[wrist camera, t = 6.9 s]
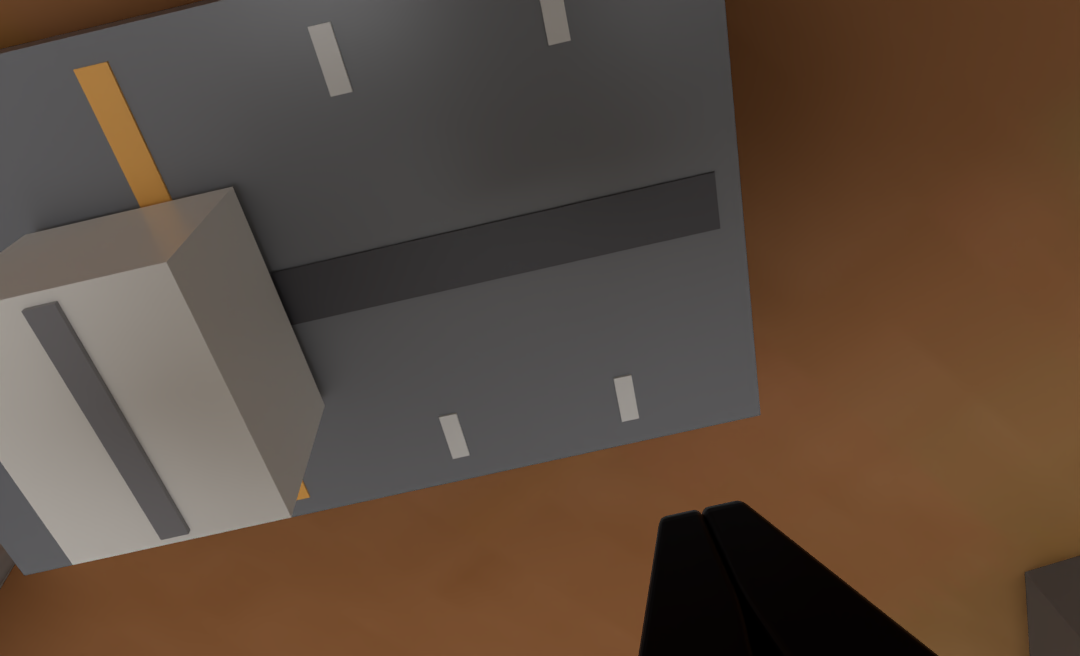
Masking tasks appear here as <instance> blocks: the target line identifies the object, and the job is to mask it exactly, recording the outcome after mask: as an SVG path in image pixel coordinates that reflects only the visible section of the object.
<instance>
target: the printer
mask: <svg viewBox="0 0 1080 656" xmlns="http://www.w3.org/2000/svg"><path fill="white" fill-rule="evenodd" d="M14 565H15V562H14V561H13V560H12V558H11V557H10V556H9V554H8V553H7V552H6V550H5V549H4V548H3V546H2V545H1V544H0V588H1V587H2V585H3V583H4V582H5V580H6V578H7V577H8V575H9V573H10V572H11V570H12V568H13V566H14Z"/></svg>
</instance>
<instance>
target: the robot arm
mask: <svg viewBox="0 0 1080 656" xmlns="http://www.w3.org/2000/svg"><path fill="white" fill-rule="evenodd" d="M639 656H938V655H937V654H936V653H934V652H933V651H932V650H930V649H929V648H928V647H927V646H925V645H924V644H923V643H922V642H920V641H919V640H918V639H917V638H915V637H914V636H913V635H911V634H910V633H909V632H908V631H906V630H905V629H904V628H903V627H901V626H900V625H899V624H898V623H896V622H895V621H894V620H893V619H891V618H890V617H889V616H887V615H886V614H885V613H884V612H882V611H881V610H880V609H879V608H877V607H876V606H875V605H874V604H872V603H871V602H870V601H868V600H867V599H866V598H865V597H863V596H862V595H861V594H860V593H858V592H857V591H856V590H855V589H853V588H852V587H851V586H850V585H848V584H847V583H846V582H844V581H843V580H842V579H841V578H839V577H838V576H837V575H836V574H834V573H833V572H832V571H831V570H829V569H828V568H827V567H825V566H824V565H823V564H822V563H820V562H819V561H818V560H817V559H815V558H814V557H813V556H812V555H810V554H809V553H808V552H806V551H805V550H804V549H803V548H801V547H800V546H799V545H798V544H796V543H795V542H794V541H793V540H791V539H790V538H789V537H788V536H786V535H785V534H784V533H782V532H781V531H780V530H779V529H777V528H776V527H775V526H774V525H772V524H771V523H770V522H769V521H767V520H766V519H765V518H763V517H762V516H761V515H760V514H758V513H757V512H756V511H755V510H753V509H752V508H751V507H750V506H748V505H747V504H746V503H744V502H741V501H733V502H728V503H724V504H719V505H715V506H710V507H707V508H705V509H704V510H703V512H702V514H701V513H700V512H699V511H696V510H692V511H687V512H682V513H678V514H673V515H669V516H665V517H663V518H662V519H661V521H660V523H659V527H658V534H657V540H656V546H655V553H654V559H653V566H652V572H651V579H650V585H649V591H648V598H647V604H646V611H645V617H644V623H643V630H642V636H641V643H640V649H639Z"/></svg>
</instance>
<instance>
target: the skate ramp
mask: <svg viewBox="0 0 1080 656" xmlns="http://www.w3.org/2000/svg"><path fill="white" fill-rule="evenodd" d="M1025 582H1026V599H1027V616H1028V633H1029V650H1030V656H1080V556H1077V557H1074V558H1070V559H1067V560H1064V561H1060V562H1057V563H1054V564H1050V565H1047V566H1044V567H1040V568H1037V569H1034V570H1031V571H1027V572H1025Z"/></svg>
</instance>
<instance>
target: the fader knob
mask: <svg viewBox="0 0 1080 656" xmlns="http://www.w3.org/2000/svg"><path fill="white" fill-rule="evenodd" d="M324 406H325V405H324V402H323V400H322V397H321V395H320V393H319V390H318V388H317V386H316V383H315V381H314V378H313V376H312V374H311V371H310V369H309V367H308V364H307V362H306V360H305V357H304V355H303V352H302V350H301V348H300V345H299V343H298V341H297V338H296V336H295V333H294V331H293V329H292V326H291V324H290V322H289V319H288V317H287V314H286V312H285V310H284V307H283V305H282V303H281V300H280V298H279V295H278V293H277V291H276V288H275V286H274V284H273V281H272V279H271V276H270V274H269V272H268V269H267V267H266V265H265V262H264V260H263V257H262V255H261V253H260V250H259V248H258V246H257V243H256V241H255V239H254V236H253V234H252V231H251V229H250V227H249V224H248V222H247V220H246V217H245V215H244V212H243V210H242V208H241V205H240V203H239V201H238V198H237V196H236V193H235V191H234V189H233V187H228V188H224V189H220V190H215V191H211V192H207V193H203V194H198V195H194V196H190V197H185V198H181V199H177V200H172V201H168V202H164V203H159V204H155V205H151V206H147V207H142V208H138V209H134V210H129V211H125V212H121V213H116V214H112V215H108V216H103V217H99V218H95V219H91V220H86V221H82V222H78V223H73V224H69V225H65V226H60V227H56V228H52V229H47V230H43V231H39V232H35V233H30V234H26V235H24V236H23V237H21V238H20V239H18V240H17V241H16V242H14V243H13V244H11V245H10V246H9V247H7V248H6V249H5V250H3V251H2V252H0V462H1V463H2V465H3V466H4V468H5V469H6V470H7V472H8V473H9V475H10V476H11V477H12V479H13V480H14V482H15V483H16V485H17V486H18V487H19V489H20V490H21V492H22V493H23V495H24V496H25V497H26V499H27V500H28V502H29V503H30V505H31V506H32V507H33V509H34V510H35V512H36V513H37V515H38V516H39V517H40V519H41V520H42V522H43V523H44V524H45V526H46V527H47V529H48V530H49V532H50V533H51V534H52V536H53V537H54V539H55V540H56V542H57V543H58V544H59V546H60V547H61V549H62V550H63V552H64V553H65V554H66V556H67V557H68V559H69V560H70V562H71V563H72V564H73V565H75V564H80V563H84V562H89V561H94V560H98V559H103V558H107V557H112V556H117V555H121V554H126V553H130V552H135V551H139V550H144V549H149V548H153V547H158V546H162V545H167V544H172V543H176V542H181V541H185V540H190V539H194V538H199V537H204V536H208V535H213V534H217V533H222V532H227V531H231V530H236V529H240V528H245V527H250V526H254V525H259V524H263V523H268V522H272V521H277V520H282V519H286V518H291V517H292V514H293V510H294V507H295V503H296V500H297V497H298V493H299V490H300V487H301V483H302V480H303V477H304V473H305V470H306V467H307V463H308V460H309V457H310V453H311V450H312V447H313V443H314V440H315V437H316V433H317V430H318V427H319V423H320V420H321V416H322V413H323V410H324Z"/></svg>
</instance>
